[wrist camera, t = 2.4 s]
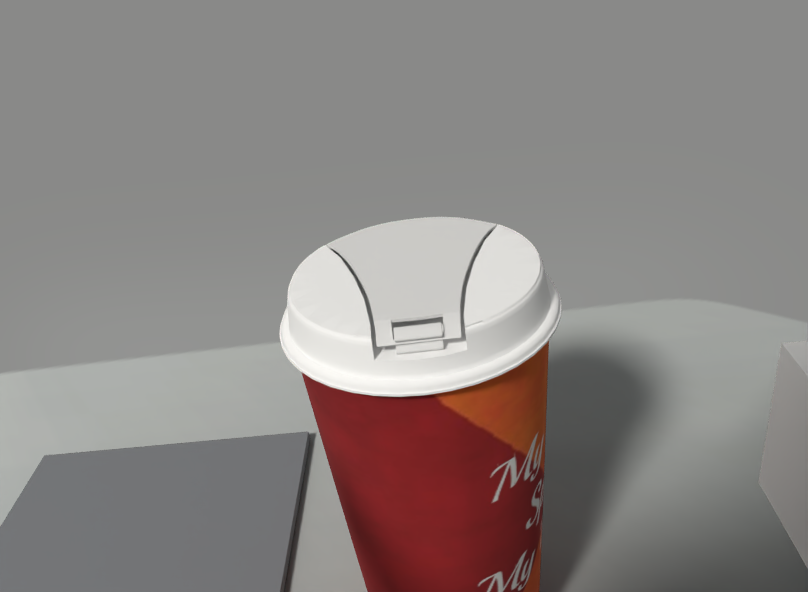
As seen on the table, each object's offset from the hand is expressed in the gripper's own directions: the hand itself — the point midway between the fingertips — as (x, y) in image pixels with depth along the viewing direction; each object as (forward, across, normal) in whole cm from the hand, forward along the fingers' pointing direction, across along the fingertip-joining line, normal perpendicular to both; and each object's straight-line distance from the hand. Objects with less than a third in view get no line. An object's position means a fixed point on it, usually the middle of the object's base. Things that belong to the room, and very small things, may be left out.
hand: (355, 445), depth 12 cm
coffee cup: (+10, +1, -17) cm, 20 cm away
